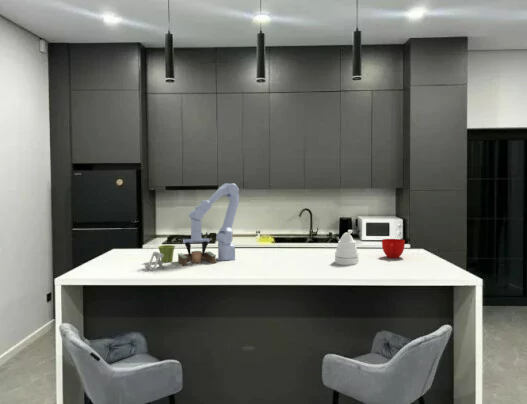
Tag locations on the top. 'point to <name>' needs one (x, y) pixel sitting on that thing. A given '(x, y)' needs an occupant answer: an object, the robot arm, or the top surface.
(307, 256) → the top surface
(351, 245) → the honey pot
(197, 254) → the seedling pot
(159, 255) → the portable electronic device stand
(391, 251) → the ceramic cup
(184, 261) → the green brown u-shaped frame
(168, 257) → the plant pot
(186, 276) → the top surface
